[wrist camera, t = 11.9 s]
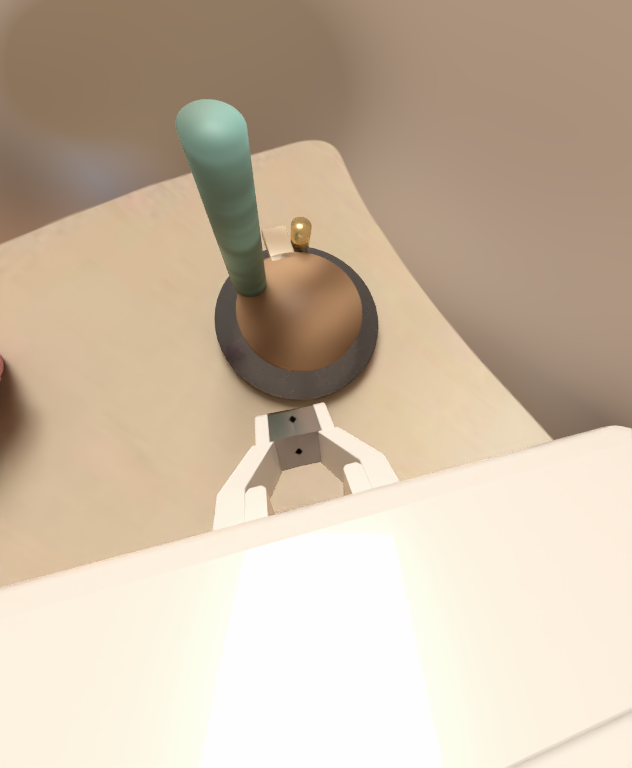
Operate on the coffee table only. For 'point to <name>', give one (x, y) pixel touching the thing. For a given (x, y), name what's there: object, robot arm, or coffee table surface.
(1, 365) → the video game controller
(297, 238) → the gold knob
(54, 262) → the coffee table surface
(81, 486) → the coffee table surface
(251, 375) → the base plate
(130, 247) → the coffee table surface
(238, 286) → the teal arcade joystick
